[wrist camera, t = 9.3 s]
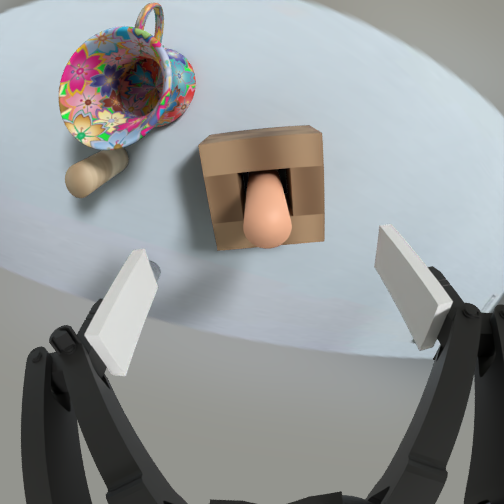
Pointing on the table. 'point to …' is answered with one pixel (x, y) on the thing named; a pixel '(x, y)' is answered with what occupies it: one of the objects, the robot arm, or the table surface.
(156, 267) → the short pin
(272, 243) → the long pin
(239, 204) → the block
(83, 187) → the medium pin
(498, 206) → the table surface
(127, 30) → the mug
